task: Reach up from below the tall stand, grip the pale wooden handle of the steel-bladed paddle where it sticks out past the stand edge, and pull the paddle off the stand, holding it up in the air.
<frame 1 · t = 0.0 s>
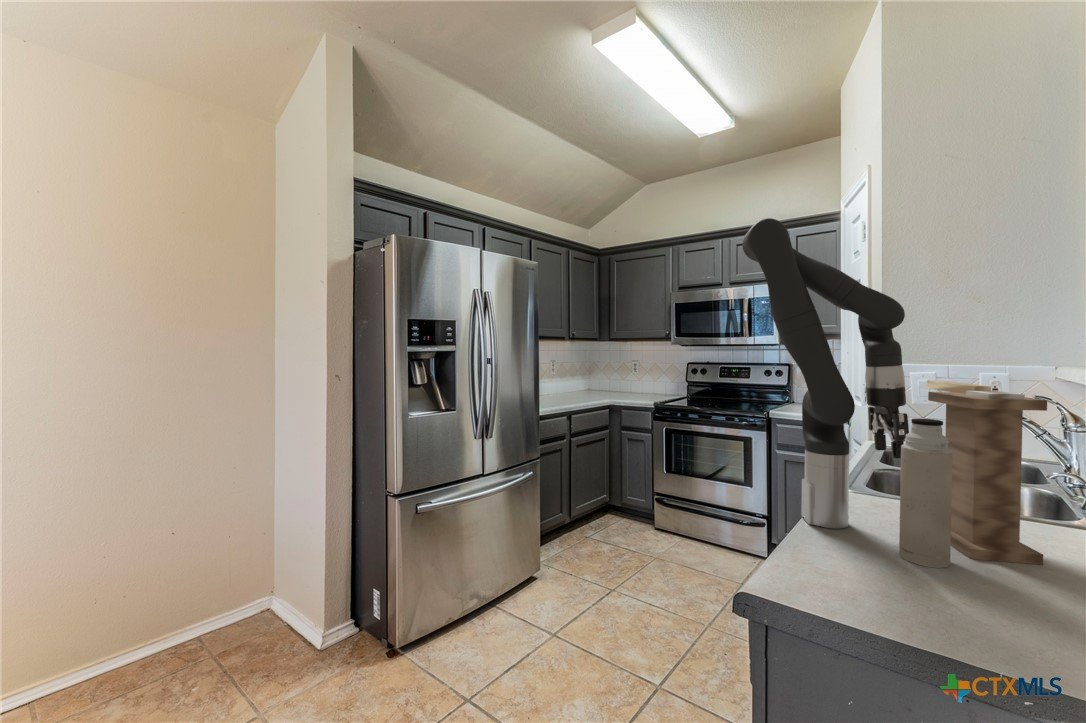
hand: (889, 453, 113), 17 cm above the counter, tool pointing down, fingers open, 8 cm apart
paddle: (958, 392, 109), point 32 cm above the counter, touching stand
stand: (979, 545, 102), on the counter
thermos bottle: (923, 559, 96), on the counter
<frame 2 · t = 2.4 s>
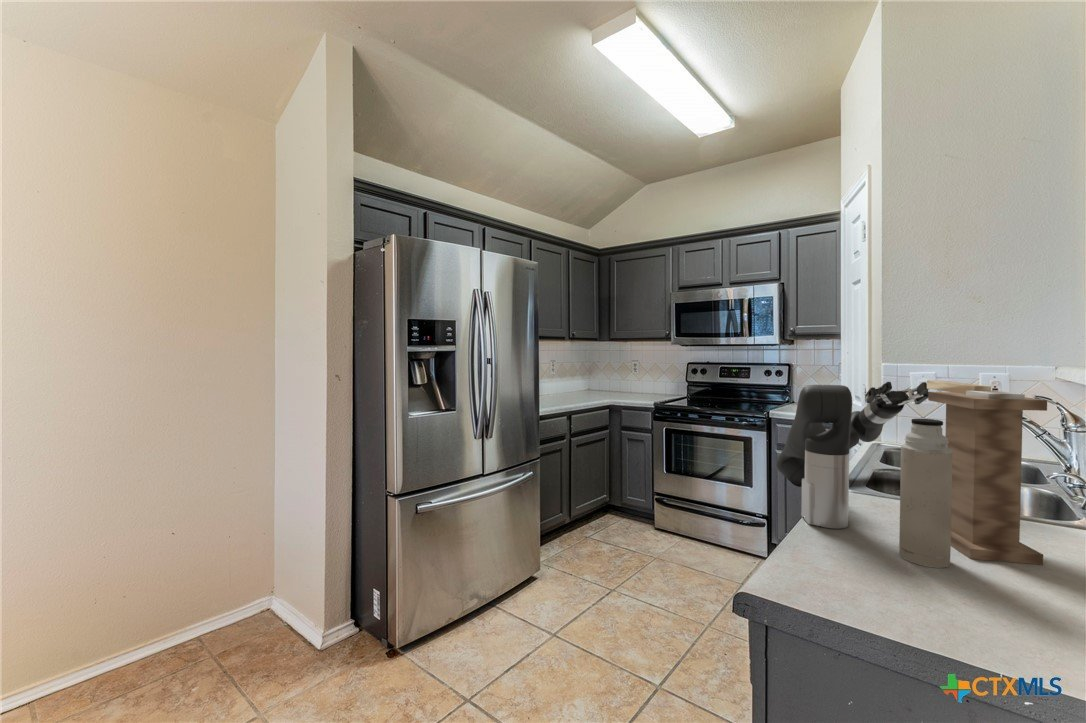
hand: (907, 385, 131), 32 cm above the counter, tool pointing upward, fingers open, 8 cm apart
nothing on the counter moved.
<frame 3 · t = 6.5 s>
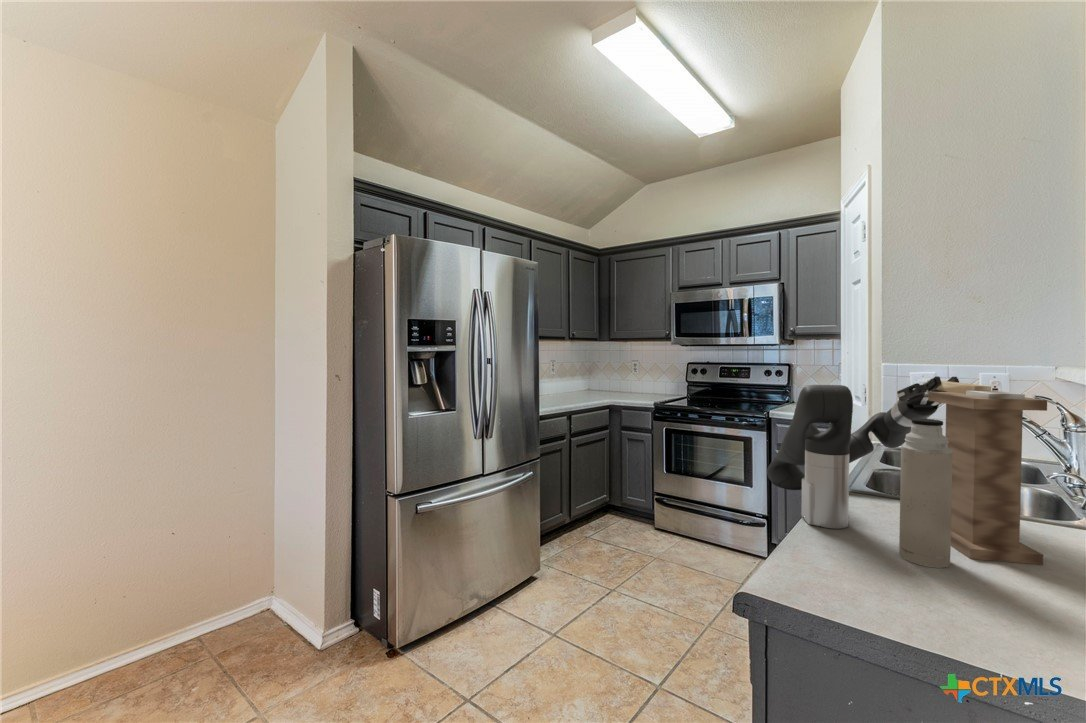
hand: (947, 380, 113), 34 cm above the counter, tool pointing upward, fingers closed on paddle, 3 cm apart
paddle: (959, 392, 109), point 32 cm above the counter, touching gripper, stand
everything else where it was.
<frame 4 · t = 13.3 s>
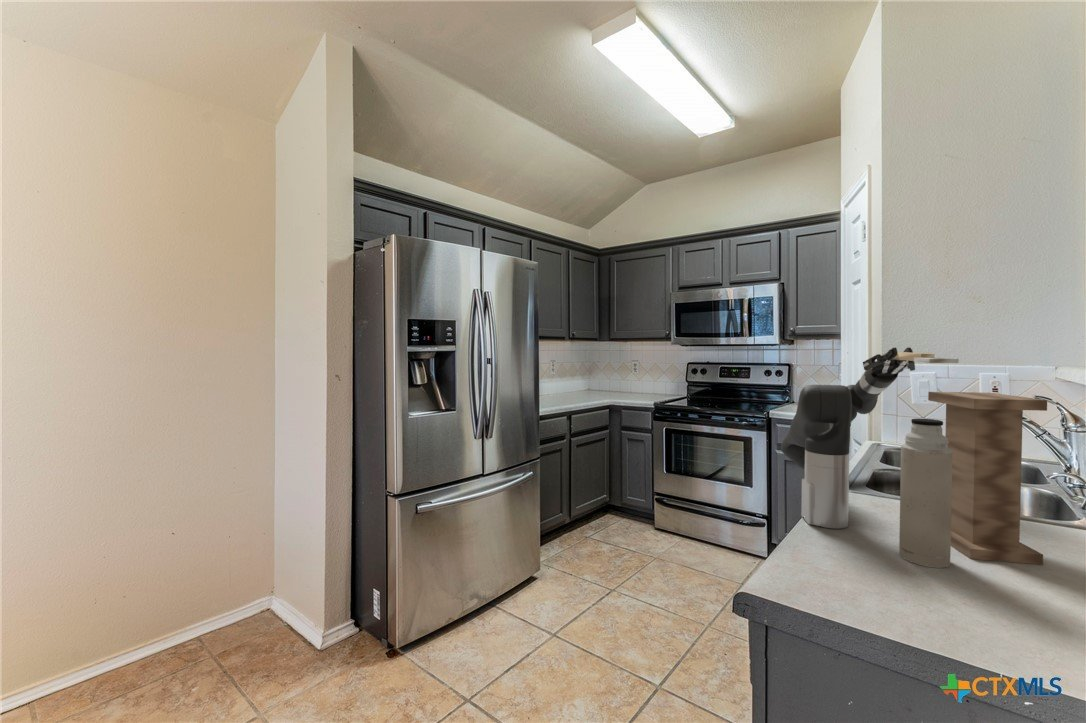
hand: (902, 350, 133), 41 cm above the counter, tool pointing upward, fingers closed on paddle, 3 cm apart
paddle: (910, 360, 129), point 39 cm above the counter, touching gripper
everything else where it was.
at the end: the gripper is holding paddle; paddle touching gripper; paddle moved 22.1 cm from its start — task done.
